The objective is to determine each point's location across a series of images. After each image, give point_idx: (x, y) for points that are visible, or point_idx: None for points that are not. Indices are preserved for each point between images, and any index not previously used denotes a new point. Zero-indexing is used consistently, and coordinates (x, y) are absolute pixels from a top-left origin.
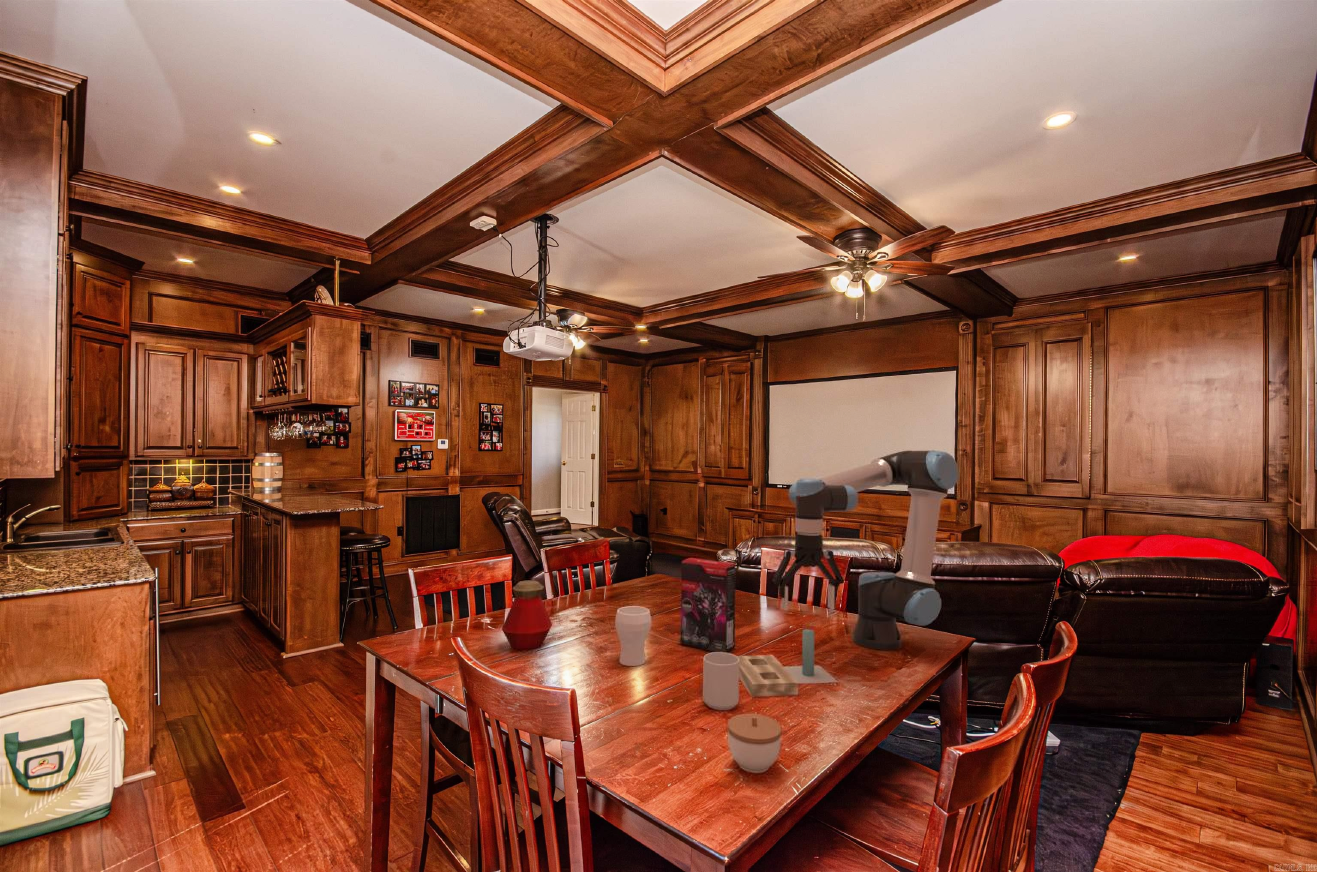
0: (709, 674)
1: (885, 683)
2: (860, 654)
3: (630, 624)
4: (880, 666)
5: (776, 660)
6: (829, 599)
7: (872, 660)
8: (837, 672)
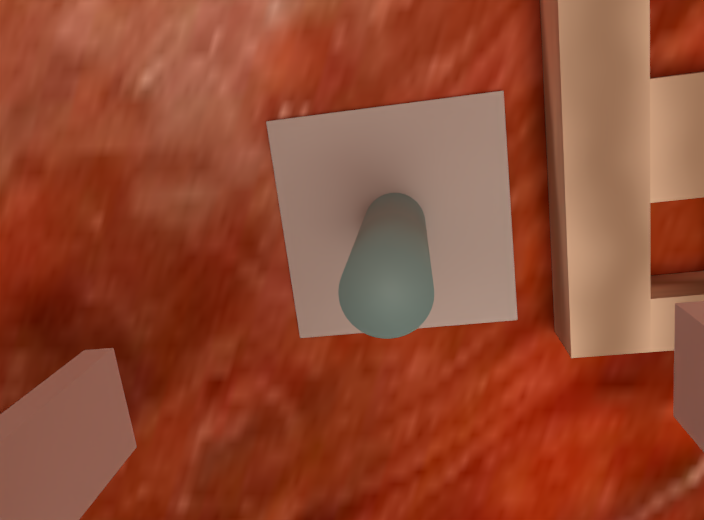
0: None
1: (29, 131)
2: None
3: None
4: (2, 342)
5: (575, 272)
6: (72, 463)
7: None
8: (230, 266)
